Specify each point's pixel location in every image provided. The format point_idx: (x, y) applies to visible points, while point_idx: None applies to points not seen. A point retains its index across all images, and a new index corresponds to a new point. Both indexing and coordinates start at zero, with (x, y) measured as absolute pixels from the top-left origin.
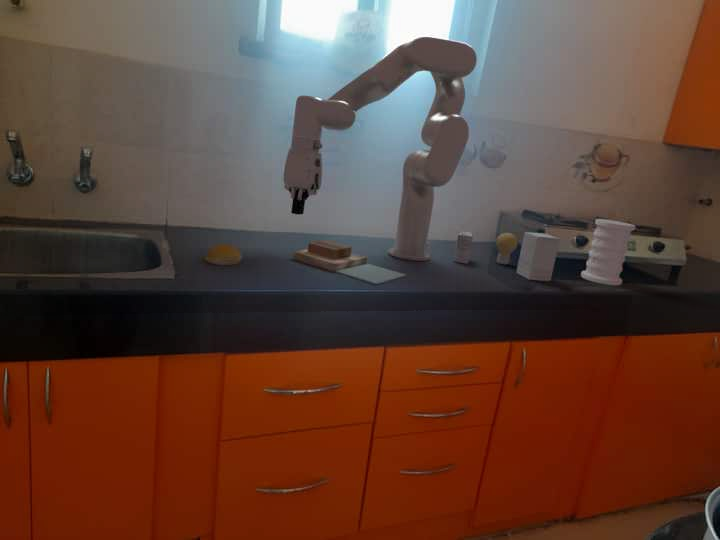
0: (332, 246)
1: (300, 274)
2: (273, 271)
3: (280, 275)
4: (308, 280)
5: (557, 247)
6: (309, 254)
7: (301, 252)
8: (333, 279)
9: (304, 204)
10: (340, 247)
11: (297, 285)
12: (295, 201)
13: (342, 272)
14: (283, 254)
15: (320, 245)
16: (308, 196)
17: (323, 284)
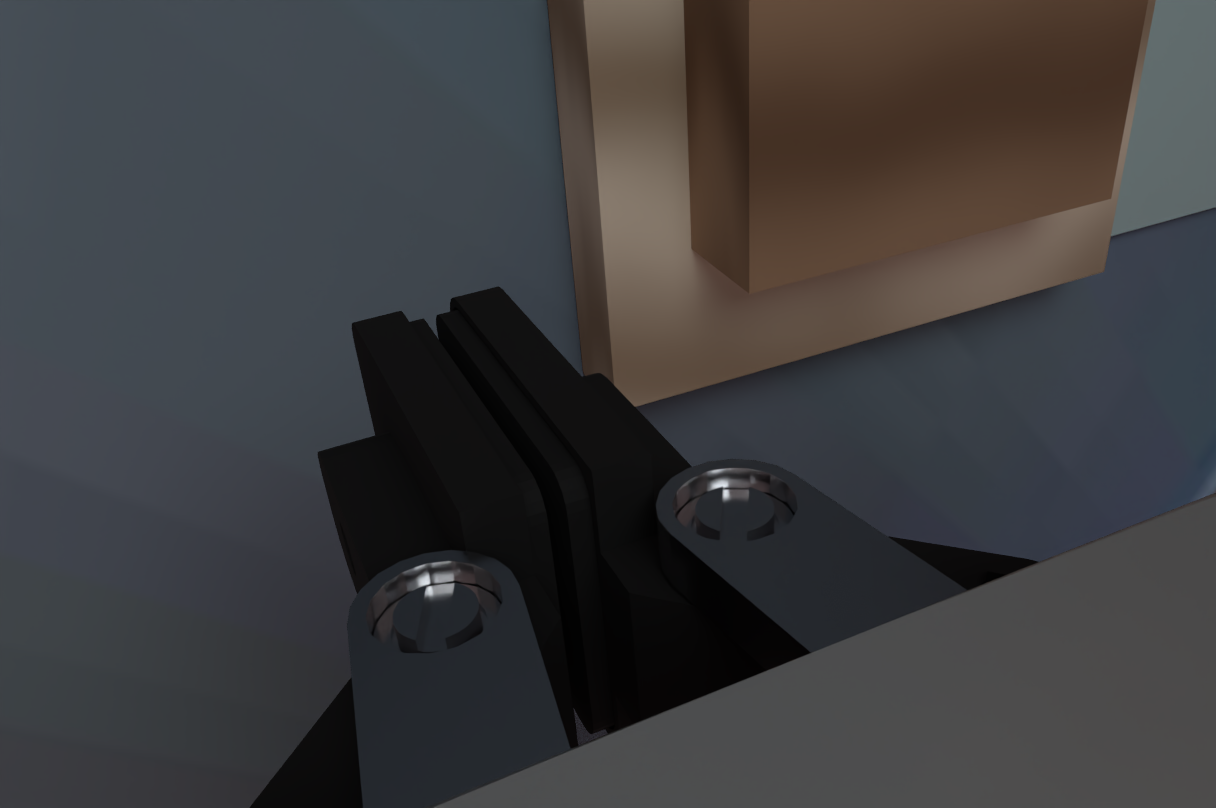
0: (1015, 104)
1: (928, 536)
2: None
3: None
4: (1028, 547)
5: None
6: (781, 304)
7: (683, 342)
8: (1121, 377)
9: (672, 448)
10: (1093, 26)
11: None
12: (578, 711)
13: (1124, 224)
14: None
15: (910, 233)
16: (948, 572)
17: (1121, 499)
